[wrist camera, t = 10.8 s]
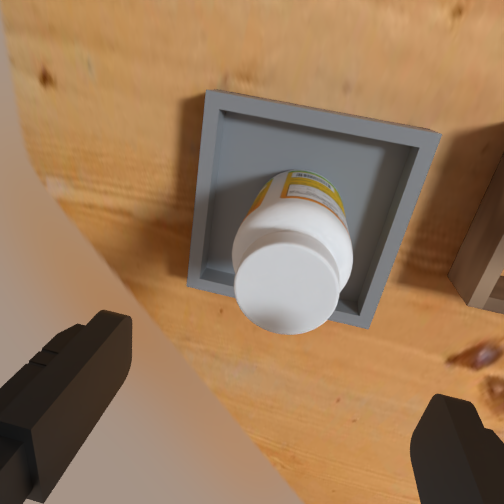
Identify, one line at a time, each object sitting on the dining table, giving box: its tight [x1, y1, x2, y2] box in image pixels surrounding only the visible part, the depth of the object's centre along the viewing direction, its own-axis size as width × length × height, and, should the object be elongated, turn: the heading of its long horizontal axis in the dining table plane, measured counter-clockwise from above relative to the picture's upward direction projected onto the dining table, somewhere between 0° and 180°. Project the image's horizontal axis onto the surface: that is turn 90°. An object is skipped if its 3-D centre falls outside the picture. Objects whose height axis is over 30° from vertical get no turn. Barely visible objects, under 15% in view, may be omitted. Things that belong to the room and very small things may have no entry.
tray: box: [187, 90, 442, 329], centre depth 22 cm, size 12×12×2 cm
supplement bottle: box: [232, 170, 353, 335], centre depth 18 cm, size 5×5×10 cm
